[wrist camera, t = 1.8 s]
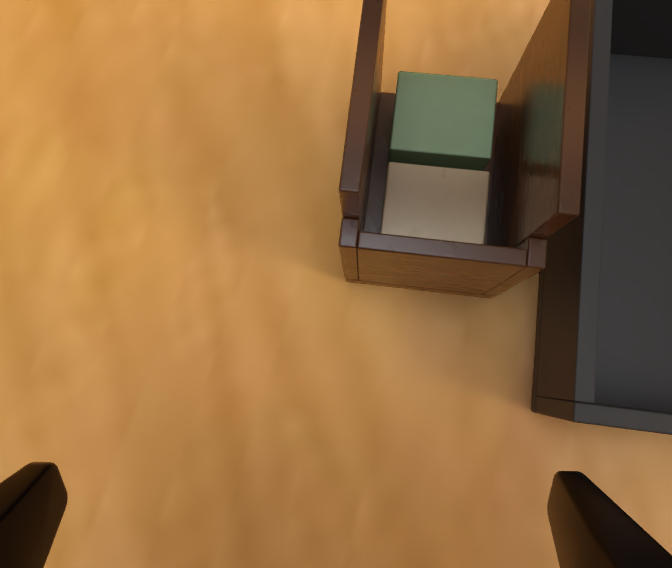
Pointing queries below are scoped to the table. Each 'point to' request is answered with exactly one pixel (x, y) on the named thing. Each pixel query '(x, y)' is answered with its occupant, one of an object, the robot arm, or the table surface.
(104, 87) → the table surface
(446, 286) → the brown wooden holder
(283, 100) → the table surface
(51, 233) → the table surface
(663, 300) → the bin
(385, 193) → the birch block
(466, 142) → the sage block
